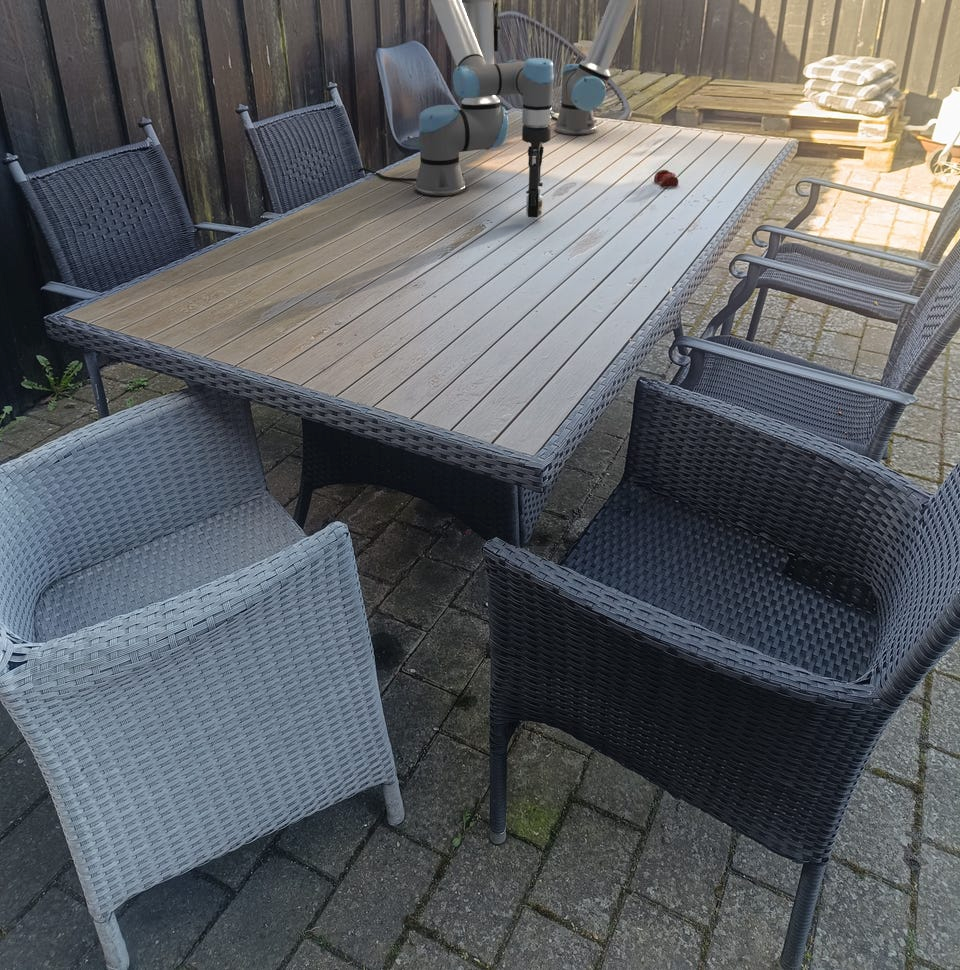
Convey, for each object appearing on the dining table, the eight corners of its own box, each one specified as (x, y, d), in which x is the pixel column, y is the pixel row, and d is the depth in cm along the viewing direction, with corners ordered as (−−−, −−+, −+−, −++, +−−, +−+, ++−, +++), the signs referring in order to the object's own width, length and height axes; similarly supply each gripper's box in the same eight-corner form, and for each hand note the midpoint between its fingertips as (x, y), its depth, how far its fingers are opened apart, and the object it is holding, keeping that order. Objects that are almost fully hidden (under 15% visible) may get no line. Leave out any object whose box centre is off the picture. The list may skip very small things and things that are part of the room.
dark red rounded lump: (669, 166, 264) (680, 173, 258) (668, 179, 266) (679, 187, 260) (653, 168, 263) (663, 175, 257) (652, 181, 265) (662, 189, 259)
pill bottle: (541, 218, 233) (542, 190, 228) (525, 218, 233) (526, 190, 228) (541, 213, 236) (542, 185, 232) (526, 213, 236) (526, 185, 232)
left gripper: (549, 133, 213) (545, 224, 227) (552, 117, 227) (548, 204, 241) (519, 132, 214) (517, 223, 227) (525, 116, 228) (522, 203, 242)
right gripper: (499, -14, 266) (498, 60, 279) (507, -21, 286) (506, 48, 299) (476, -14, 267) (476, 60, 279) (485, -21, 287) (485, 48, 300)
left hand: (533, 213), depth 234 cm, fingers open, 4 cm apart
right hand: (491, 54), depth 289 cm, fingers open, 13 cm apart
